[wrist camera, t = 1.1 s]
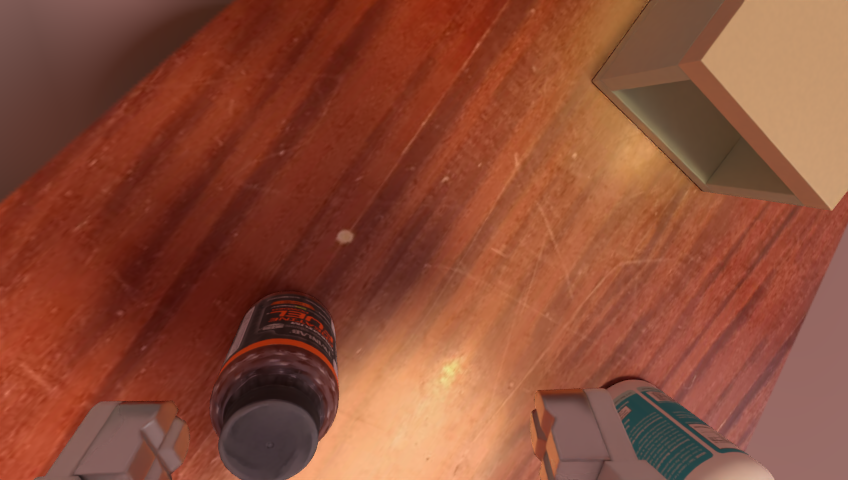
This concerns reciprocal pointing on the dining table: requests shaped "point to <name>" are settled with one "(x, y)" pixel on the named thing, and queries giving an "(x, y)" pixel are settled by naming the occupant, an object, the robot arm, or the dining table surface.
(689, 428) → the pill bottle
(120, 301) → the dining table surface
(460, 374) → the dining table surface
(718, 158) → the shelf
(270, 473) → the supplement bottle
